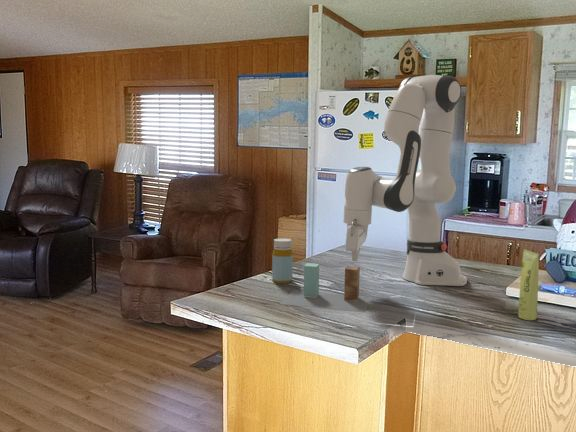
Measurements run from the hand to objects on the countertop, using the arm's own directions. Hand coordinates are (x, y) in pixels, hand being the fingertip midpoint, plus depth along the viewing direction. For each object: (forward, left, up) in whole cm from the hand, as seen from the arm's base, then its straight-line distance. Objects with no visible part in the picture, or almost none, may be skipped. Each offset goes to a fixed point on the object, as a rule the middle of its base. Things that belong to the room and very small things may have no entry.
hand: (355, 260), depth 187 cm
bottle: (+27, -7, -11) cm, 30 cm away
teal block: (+13, +8, -11) cm, 18 cm away
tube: (-51, +10, -11) cm, 53 cm away
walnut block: (0, +8, -11) cm, 13 cm away
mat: (+7, +12, -11) cm, 17 cm away
